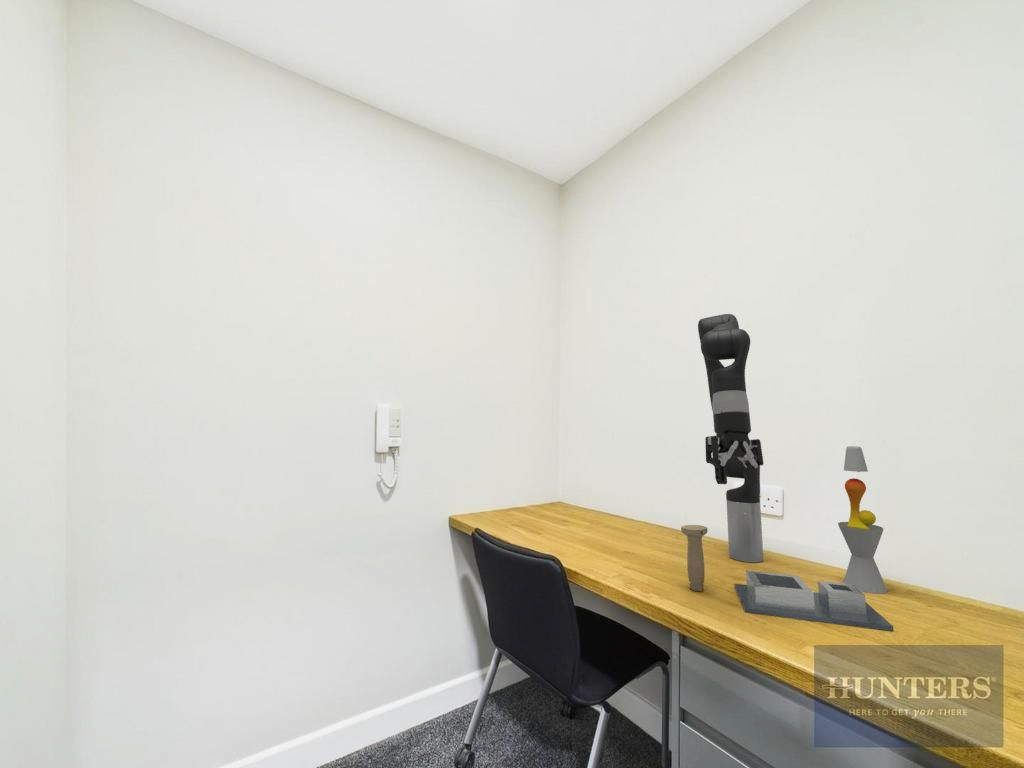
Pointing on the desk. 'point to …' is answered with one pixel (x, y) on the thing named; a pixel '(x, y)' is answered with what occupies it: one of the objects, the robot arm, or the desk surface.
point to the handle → (695, 555)
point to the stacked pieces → (860, 531)
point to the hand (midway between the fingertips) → (736, 484)
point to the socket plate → (808, 601)
